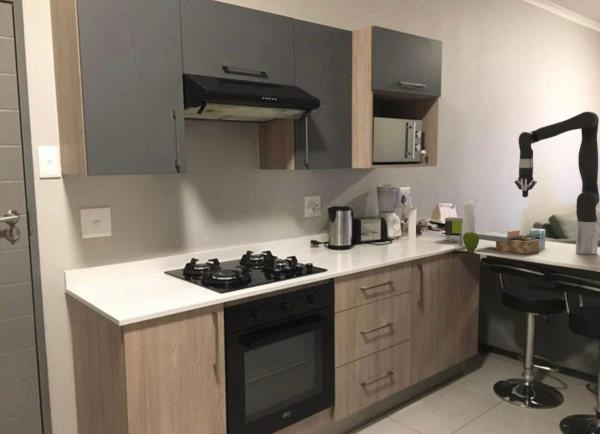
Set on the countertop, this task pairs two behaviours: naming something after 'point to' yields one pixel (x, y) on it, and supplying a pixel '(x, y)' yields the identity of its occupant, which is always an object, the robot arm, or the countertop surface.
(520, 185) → the robot arm
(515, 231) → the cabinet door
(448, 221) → the tea box
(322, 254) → the countertop surface
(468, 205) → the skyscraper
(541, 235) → the light bulb box
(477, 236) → the green faceted ovoid
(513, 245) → the wooden box
